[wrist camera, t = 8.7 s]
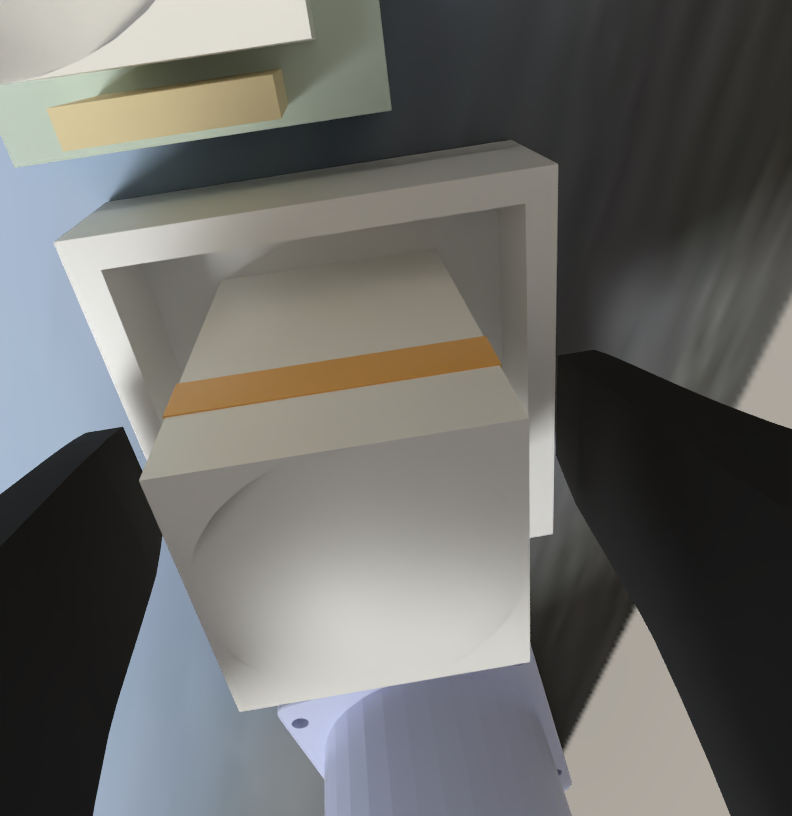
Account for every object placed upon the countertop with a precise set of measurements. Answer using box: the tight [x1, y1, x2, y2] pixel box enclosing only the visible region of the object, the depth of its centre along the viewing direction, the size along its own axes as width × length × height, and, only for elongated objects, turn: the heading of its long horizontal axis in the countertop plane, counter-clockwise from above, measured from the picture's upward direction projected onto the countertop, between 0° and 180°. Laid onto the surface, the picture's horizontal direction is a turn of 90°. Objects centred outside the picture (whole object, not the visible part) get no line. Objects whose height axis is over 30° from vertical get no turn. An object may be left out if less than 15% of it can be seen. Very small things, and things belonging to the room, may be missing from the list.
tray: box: [54, 140, 558, 538], centre depth 12 cm, size 8×8×3 cm
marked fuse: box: [139, 248, 530, 712], centre depth 10 cm, size 4×4×6 cm
